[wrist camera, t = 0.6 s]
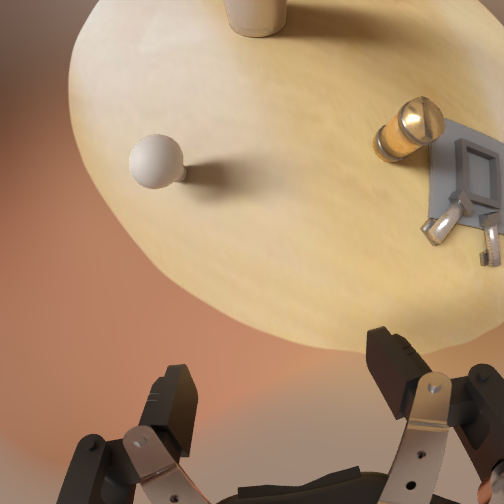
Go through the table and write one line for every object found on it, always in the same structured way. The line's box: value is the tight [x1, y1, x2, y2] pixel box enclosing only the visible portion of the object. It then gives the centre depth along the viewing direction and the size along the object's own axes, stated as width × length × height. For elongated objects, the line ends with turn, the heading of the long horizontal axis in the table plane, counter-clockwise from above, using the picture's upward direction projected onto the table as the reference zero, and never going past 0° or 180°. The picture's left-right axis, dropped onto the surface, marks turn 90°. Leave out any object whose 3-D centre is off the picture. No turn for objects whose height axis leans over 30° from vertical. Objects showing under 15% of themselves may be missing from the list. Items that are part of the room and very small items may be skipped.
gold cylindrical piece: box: [373, 96, 445, 163], centre depth 27 cm, size 5×5×12 cm
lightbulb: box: [129, 135, 187, 189], centre depth 31 cm, size 6×6×11 cm
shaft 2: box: [478, 212, 502, 267], centre depth 31 cm, size 8×3×4 cm, turn 14°
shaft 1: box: [420, 190, 475, 246], centre depth 31 cm, size 8×3×4 cm, turn 134°
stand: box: [428, 118, 504, 235], centre depth 30 cm, size 16×18×3 cm
